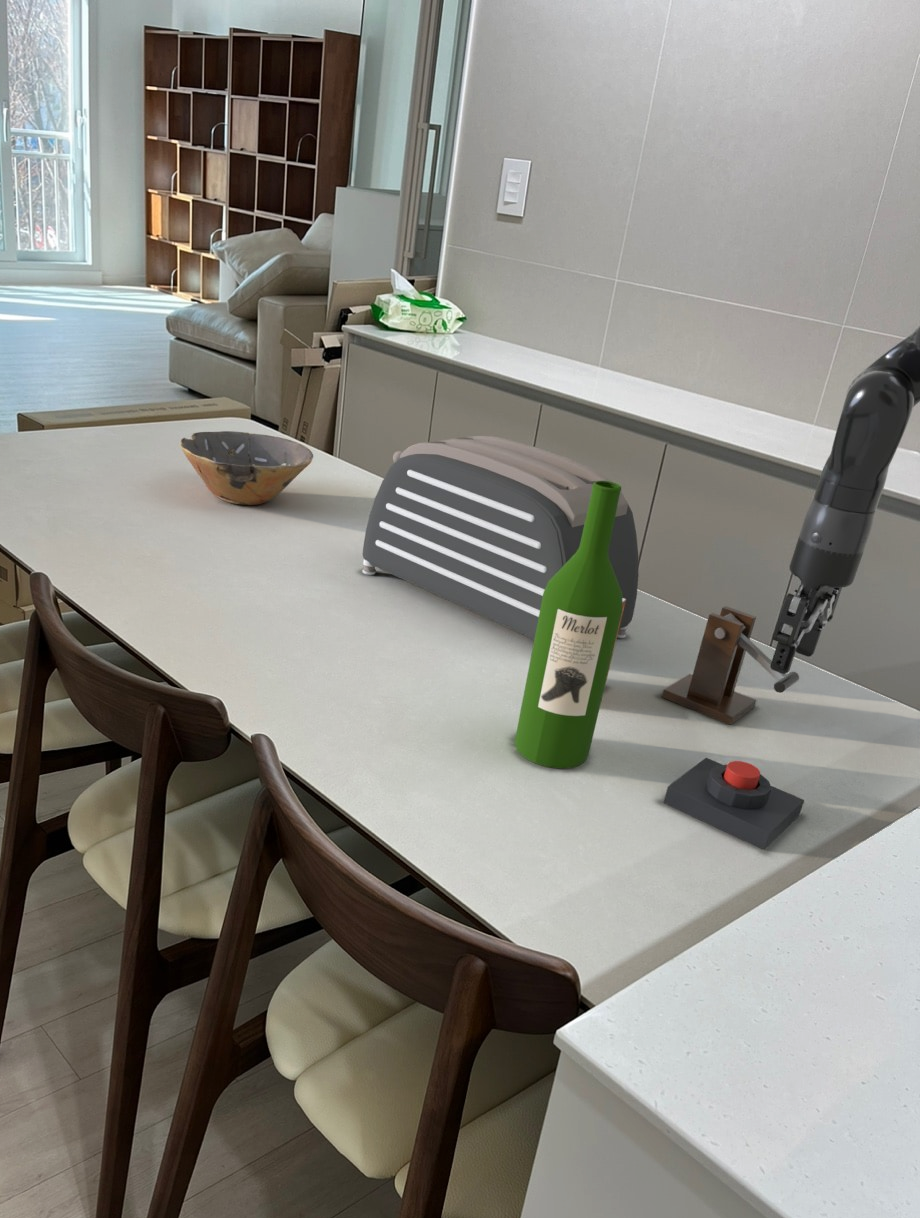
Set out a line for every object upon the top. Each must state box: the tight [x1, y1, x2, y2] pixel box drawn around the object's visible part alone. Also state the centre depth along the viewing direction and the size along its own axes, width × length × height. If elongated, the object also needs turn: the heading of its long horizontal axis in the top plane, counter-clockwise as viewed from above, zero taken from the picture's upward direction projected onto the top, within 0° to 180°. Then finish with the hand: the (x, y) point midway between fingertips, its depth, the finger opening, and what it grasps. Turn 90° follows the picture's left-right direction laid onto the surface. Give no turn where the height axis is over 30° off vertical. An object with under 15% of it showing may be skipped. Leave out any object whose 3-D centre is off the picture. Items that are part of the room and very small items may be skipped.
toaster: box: [362, 435, 639, 640], centre depth 163 cm, size 19×45×24 cm, turn 44°
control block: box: [663, 757, 805, 850], centre depth 118 cm, size 12×10×4 cm
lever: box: [724, 613, 800, 694], centre depth 137 cm, size 12×5×2 cm, turn 50°
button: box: [724, 760, 762, 790], centre depth 117 cm, size 4×4×2 cm
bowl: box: [179, 430, 314, 506], centre depth 199 cm, size 25×25×10 cm
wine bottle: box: [514, 481, 623, 769], centre depth 119 cm, size 9×9×32 cm
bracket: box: [661, 605, 757, 726], centre depth 141 cm, size 10×8×13 cm
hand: (791, 662), depth 134 cm, fingers open, 8 cm apart
